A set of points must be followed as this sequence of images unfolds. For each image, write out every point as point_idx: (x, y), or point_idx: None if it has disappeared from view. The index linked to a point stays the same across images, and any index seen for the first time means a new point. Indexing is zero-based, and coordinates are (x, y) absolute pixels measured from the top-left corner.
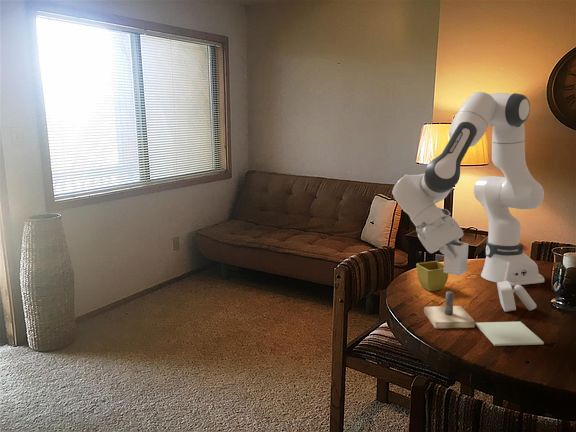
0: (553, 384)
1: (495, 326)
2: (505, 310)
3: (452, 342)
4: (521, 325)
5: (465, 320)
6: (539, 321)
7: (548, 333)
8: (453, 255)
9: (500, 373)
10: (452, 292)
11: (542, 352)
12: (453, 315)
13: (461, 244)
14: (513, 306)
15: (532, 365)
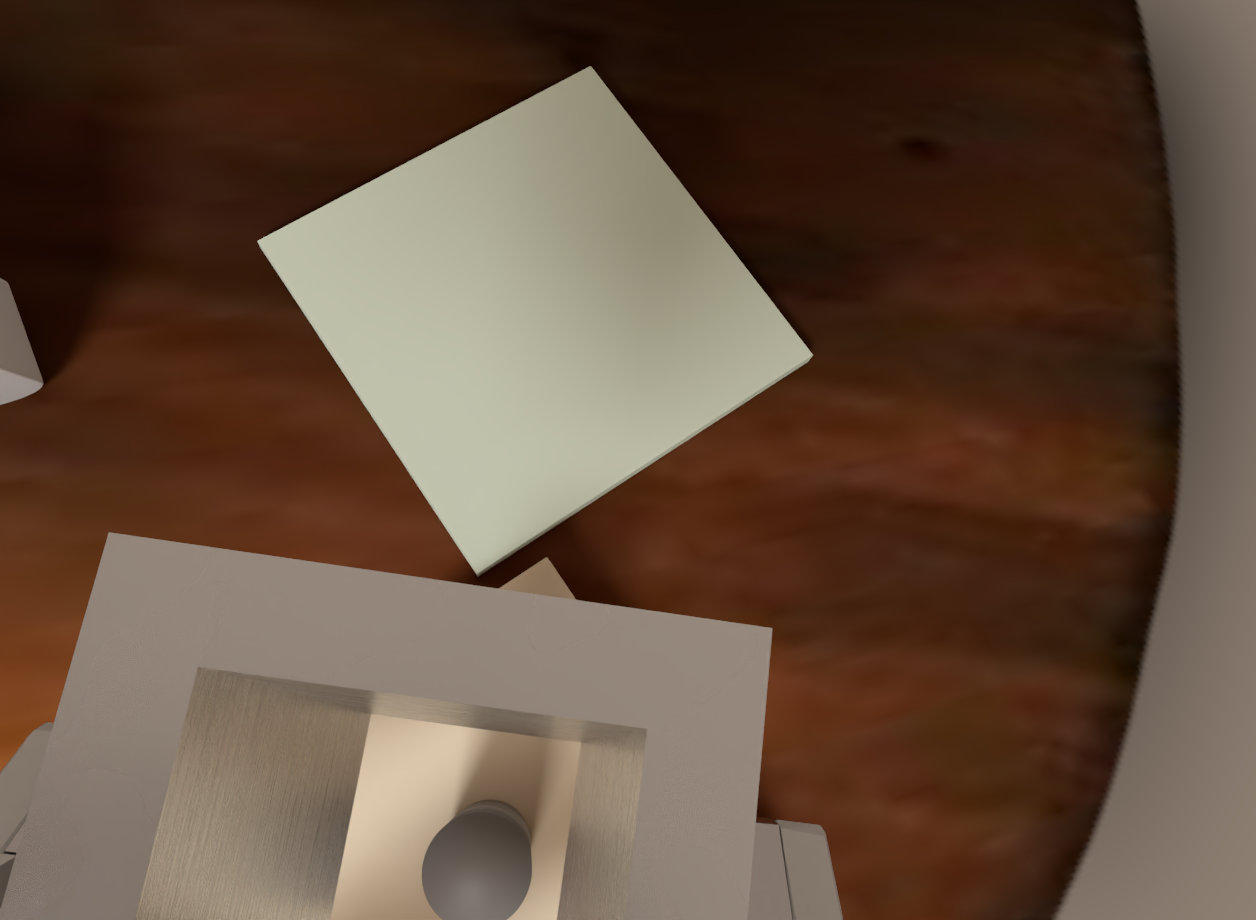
0: (1103, 11)
1: (473, 403)
2: (42, 380)
3: (943, 660)
4: (344, 224)
5: None
6: (144, 124)
7: (370, 57)
8: (806, 863)
9: (1176, 268)
10: (452, 840)
11: (724, 77)
12: (509, 783)
13: (187, 790)
14: (5, 297)
15: (949, 118)
